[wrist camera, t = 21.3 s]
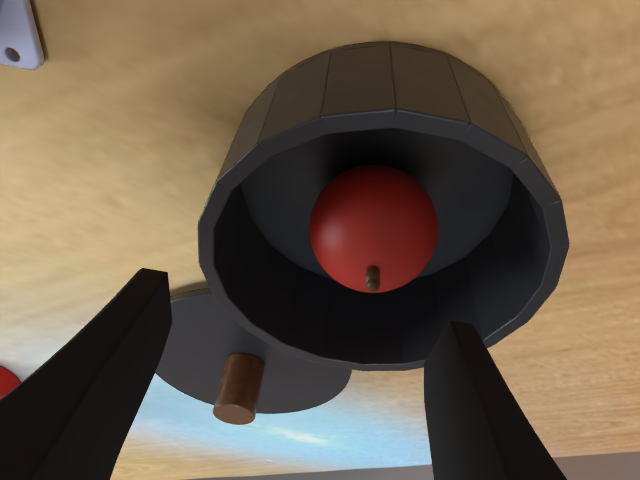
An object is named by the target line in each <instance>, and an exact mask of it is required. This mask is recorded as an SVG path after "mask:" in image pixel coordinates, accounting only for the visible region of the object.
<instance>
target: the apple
mask: <svg viewBox="0 0 640 480" xmlns="http://www.w3.org/2000/svg"><path fill="white" fill-rule="evenodd" d="M309 234H310V241H311V246H312V249H313V251H314V254H315V256H316V258H317V260H318V262H319V263H320V265H321V266H322V268H323V269H324V270H325V271H326V272H327V273H328V274H329V275H330V276H331V277H332V278H333V279H334V280H336V281H337V282H339V283H340V284H342V285H344V286H346V287H348V288H351V289H354V290H357V291H361V292H367V293H380V292H386V291H390V290H394V289H396V288H399V287H401V286H403V285H405V284H407V283H409V282H410V281H412V280H413V279H414V278H415V277H416V276H418V275H419V274H420V273H421V272H422V271H423V269H424V268H425V267H426V265H427V264H428V262H429V261H430V259H431V257H432V255H433V252H434V250H435V247H436V243H437V238H438V219H437V214H436V211H435V208H434V205H433V202H432V200H431V198H430V196H429V195H428V193H427V192H426V190H425V189H424V188H423V187H422V186H421V185H420V184H419V183H418V182H417V181H416V180H415V179H414V178H413V177H411V176H410V175H408V174H407V173H405V172H403V171H401V170H398V169H396V168H393V167H389V166H384V165H364V166H359V167H355V168H352V169H349V170H347V171H345V172H343V173H341V174H340V175H338V176H337V177H335V178H334V179H333V180H332V181H330V182H329V183H328V184H327V185H326V186H325V188H324V189H323V190H322V191H321V193H320V194H319V196H318V198H317V199H316V202H315V204H314V206H313V209H312V213H311V216H310V225H309Z"/></svg>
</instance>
